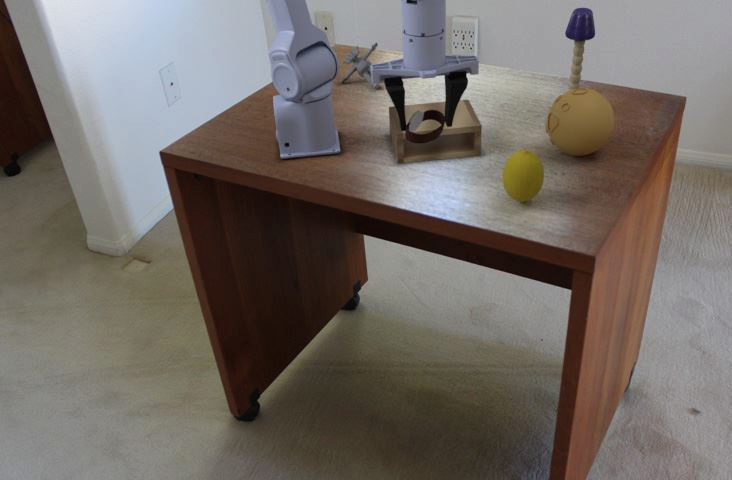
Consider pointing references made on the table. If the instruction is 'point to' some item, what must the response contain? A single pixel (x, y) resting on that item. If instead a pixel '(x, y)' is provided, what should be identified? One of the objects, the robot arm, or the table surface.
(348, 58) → the gray toy figurine
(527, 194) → the lemon
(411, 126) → the watch
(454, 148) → the shelf
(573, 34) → the toy lamp
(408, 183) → the table surface
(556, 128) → the stress ball
